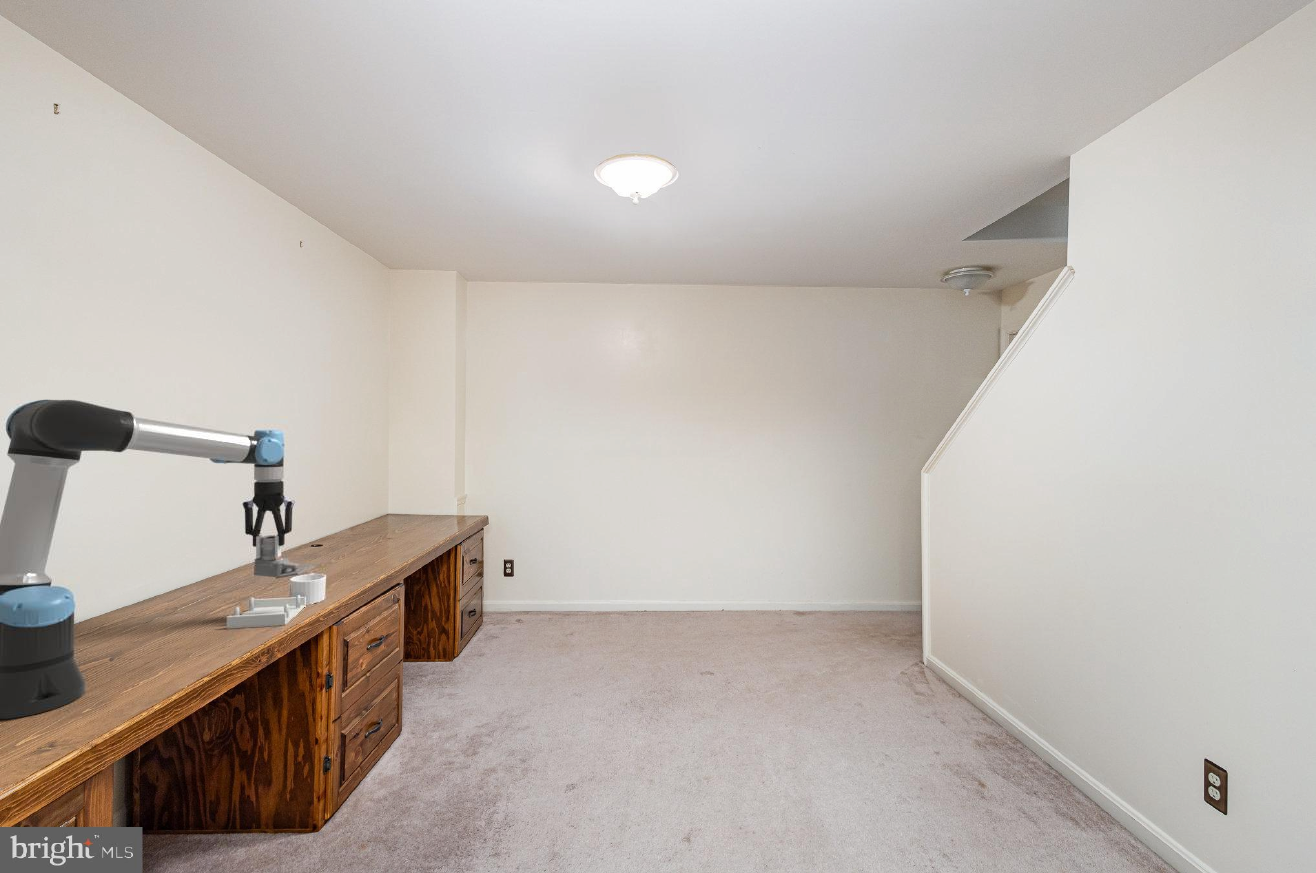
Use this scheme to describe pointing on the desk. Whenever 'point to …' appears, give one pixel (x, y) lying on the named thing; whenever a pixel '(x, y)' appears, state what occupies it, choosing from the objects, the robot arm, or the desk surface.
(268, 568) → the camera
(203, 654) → the desk surface
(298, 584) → the mug
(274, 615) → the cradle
